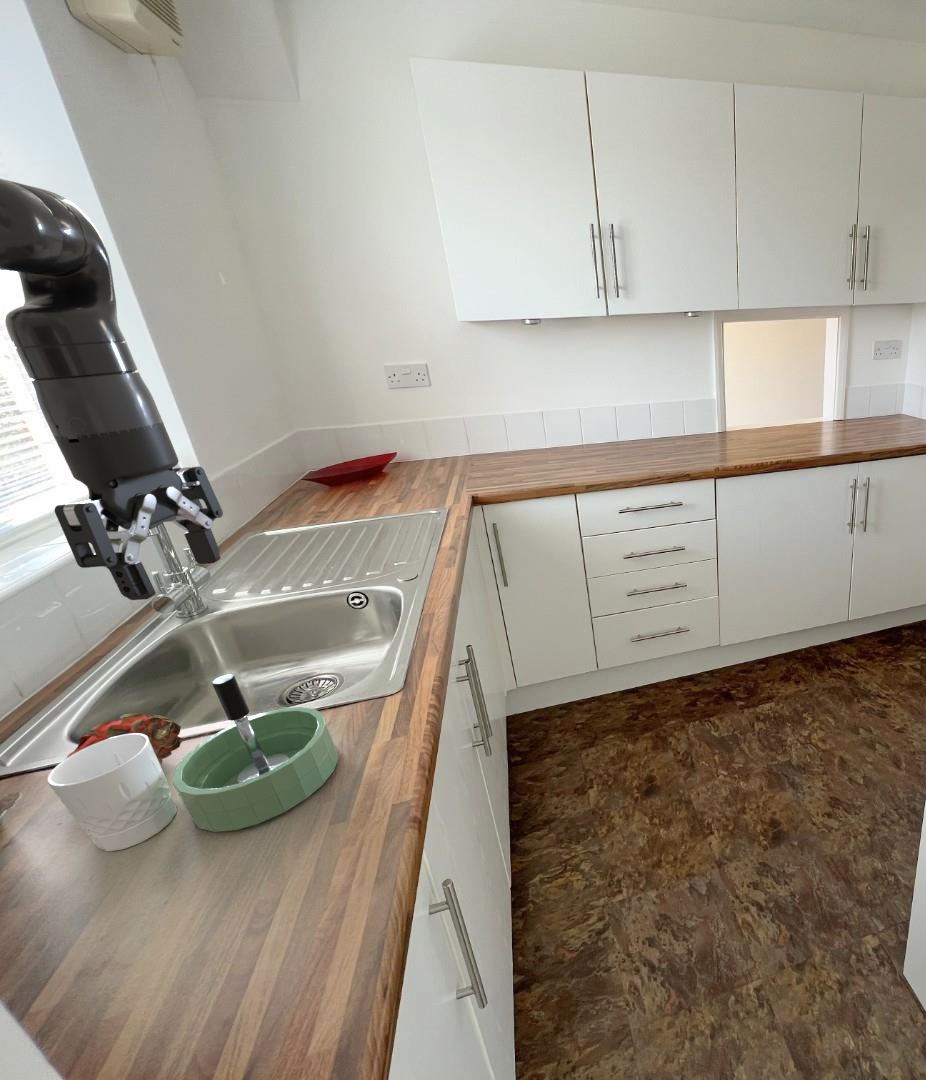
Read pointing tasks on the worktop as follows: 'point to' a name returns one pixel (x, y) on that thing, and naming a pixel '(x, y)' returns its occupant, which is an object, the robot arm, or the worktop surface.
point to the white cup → (115, 791)
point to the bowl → (233, 805)
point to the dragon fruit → (153, 727)
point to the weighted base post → (244, 728)
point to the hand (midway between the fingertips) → (178, 579)
